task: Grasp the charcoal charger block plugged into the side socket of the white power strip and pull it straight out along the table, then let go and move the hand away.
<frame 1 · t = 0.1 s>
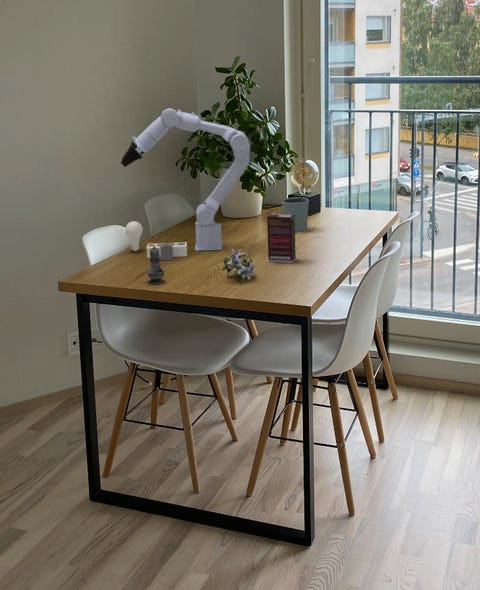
hand: (123, 163, 312), 32 cm above the table, tool tilted 50°, fingers open, 7 cm apart
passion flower: (238, 278, 285), on the table
charger: (166, 250, 310), point 3 cm above the table, slide at 0.0 cm
power strip: (167, 254, 315), on the table
lightbulb: (135, 251, 322), on the table
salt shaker: (156, 282, 284), on the table
grey green plant pot: (295, 231, 345), on the table
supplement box: (281, 261, 303), on the table
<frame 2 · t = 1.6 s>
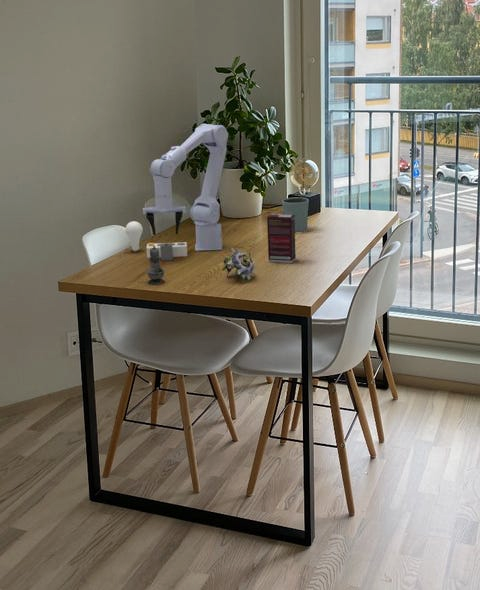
hand: (165, 233, 308), 9 cm above the table, tool pointing down, fingers open, 7 cm apart
nothing on the table moved.
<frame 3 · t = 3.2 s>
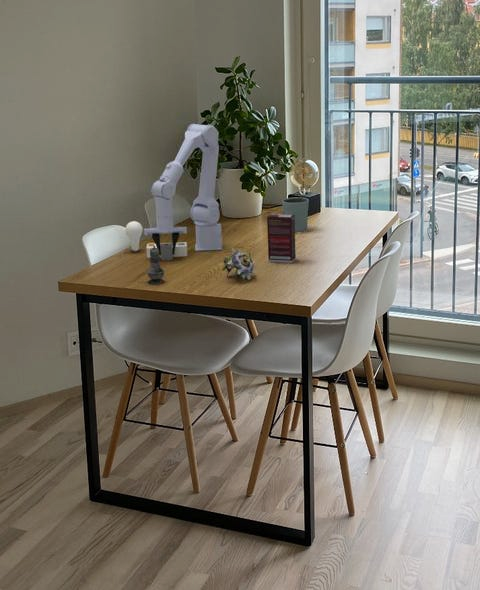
hand: (166, 254, 310), 2 cm above the table, tool pointing down, fingers closed on charger, 4 cm apart
charger: (166, 250, 310), point 3 cm above the table, slide at 0.0 cm, touching gripper
everything else where it was.
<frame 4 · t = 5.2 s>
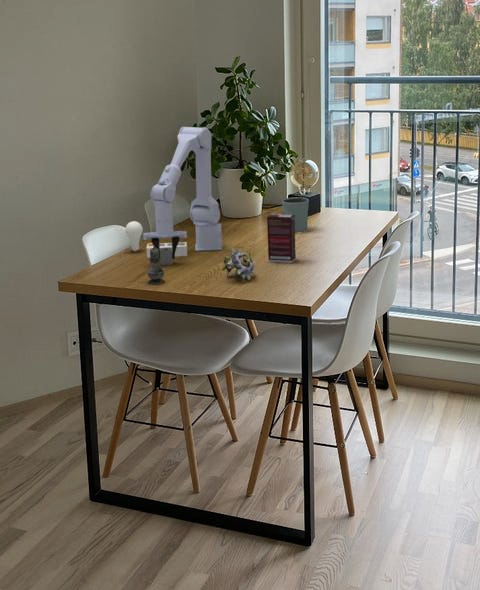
hand: (166, 259, 304), 2 cm above the table, tool pointing down, fingers closed on charger, 4 cm apart
charger: (166, 255, 304), point 3 cm above the table, slide at 6.4 cm, touching gripper
everything else where it was.
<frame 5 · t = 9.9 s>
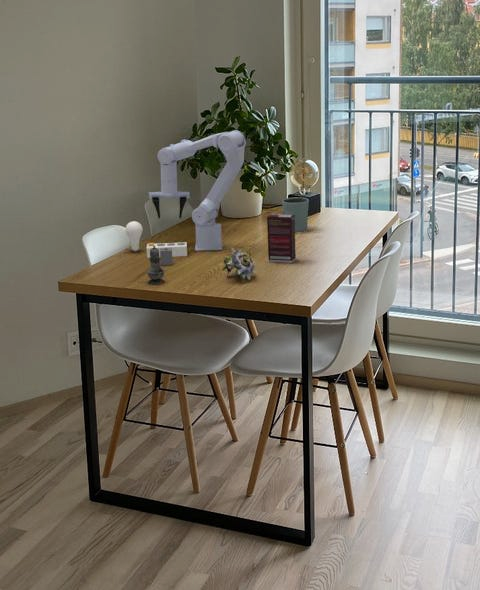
hand: (169, 217, 325), 10 cm above the table, tool pointing down, fingers open, 7 cm apart
charger: (166, 255, 304), point 3 cm above the table, slide at 6.5 cm
everything else where it was.
at the end: charger slide at 6.5 cm; charger touching nothing; the gripper is holding nothing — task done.
